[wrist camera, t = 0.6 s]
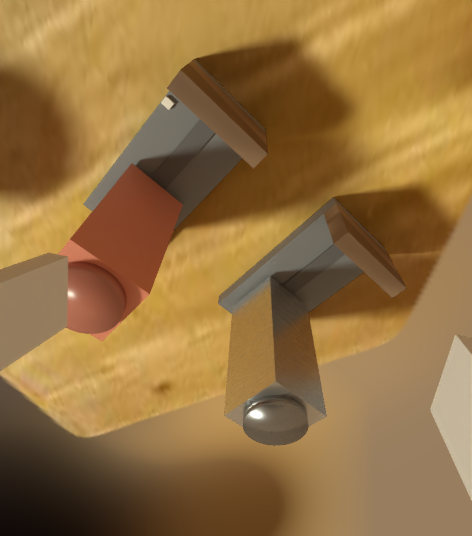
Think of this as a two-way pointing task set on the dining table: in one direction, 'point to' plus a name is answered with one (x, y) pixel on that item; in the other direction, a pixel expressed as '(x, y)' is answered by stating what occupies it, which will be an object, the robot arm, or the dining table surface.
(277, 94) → the dining table surface
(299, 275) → the steel rail
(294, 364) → the grey metal prism
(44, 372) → the dining table surface
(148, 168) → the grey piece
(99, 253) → the orange tall prism
